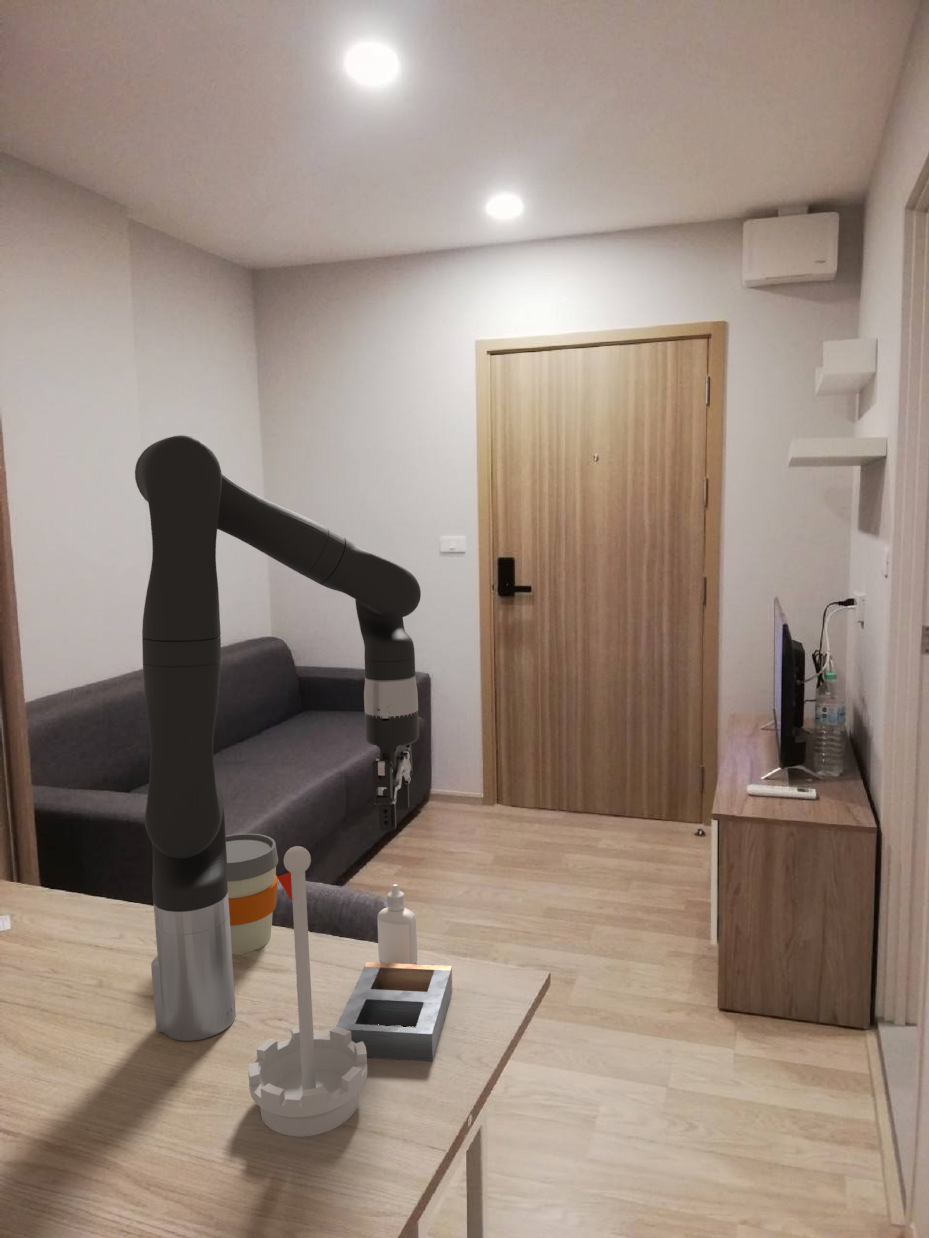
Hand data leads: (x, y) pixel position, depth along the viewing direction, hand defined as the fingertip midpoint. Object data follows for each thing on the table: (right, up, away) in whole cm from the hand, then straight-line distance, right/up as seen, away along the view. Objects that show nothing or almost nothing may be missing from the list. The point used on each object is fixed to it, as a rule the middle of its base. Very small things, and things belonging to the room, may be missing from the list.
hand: (395, 819), depth 127 cm
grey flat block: (+1, -24, -11) cm, 26 cm away
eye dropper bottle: (0, -22, +3) cm, 22 cm away
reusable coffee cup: (-25, -22, +12) cm, 35 cm away
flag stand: (-7, -26, -27) cm, 38 cm away
